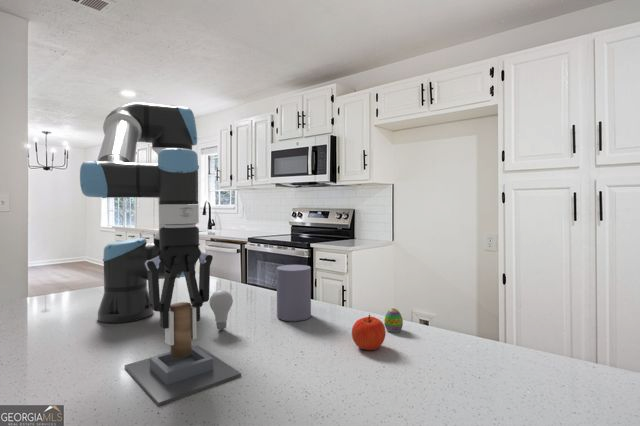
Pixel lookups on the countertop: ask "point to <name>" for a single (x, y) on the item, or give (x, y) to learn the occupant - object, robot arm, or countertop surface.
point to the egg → (393, 321)
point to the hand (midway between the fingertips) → (181, 340)
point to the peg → (181, 330)
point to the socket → (180, 374)
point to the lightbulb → (221, 307)
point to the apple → (368, 333)
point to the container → (293, 292)
